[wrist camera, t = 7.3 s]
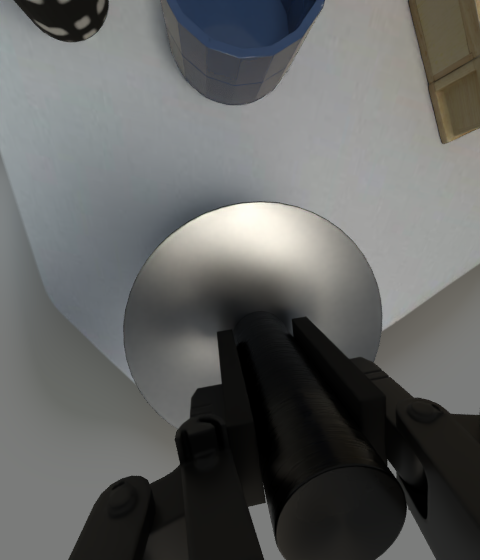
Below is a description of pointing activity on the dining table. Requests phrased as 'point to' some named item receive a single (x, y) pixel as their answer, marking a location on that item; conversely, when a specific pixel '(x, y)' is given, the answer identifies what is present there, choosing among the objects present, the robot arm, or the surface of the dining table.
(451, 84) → the toy kitchen set
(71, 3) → the white-spotted black cylinder
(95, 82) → the dining table surface
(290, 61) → the pot
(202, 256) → the lid
